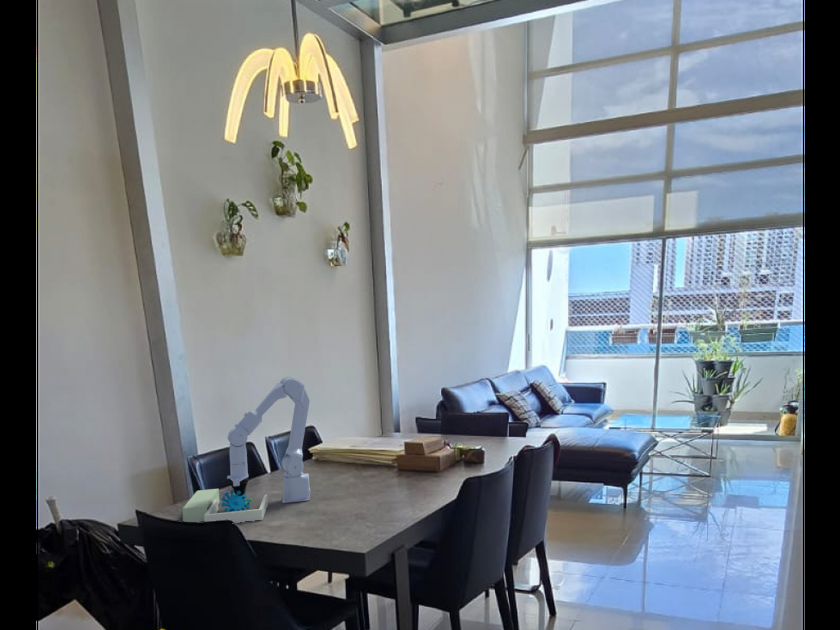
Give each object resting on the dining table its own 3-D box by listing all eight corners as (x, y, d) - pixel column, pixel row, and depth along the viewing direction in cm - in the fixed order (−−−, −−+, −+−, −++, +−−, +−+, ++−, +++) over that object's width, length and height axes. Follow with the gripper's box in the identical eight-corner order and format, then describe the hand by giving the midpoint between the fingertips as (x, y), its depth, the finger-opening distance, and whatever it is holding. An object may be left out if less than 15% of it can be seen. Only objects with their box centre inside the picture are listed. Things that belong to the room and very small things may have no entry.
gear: (226, 515, 194) (219, 490, 200) (220, 526, 196) (212, 500, 202) (257, 511, 201) (249, 487, 207) (250, 521, 204) (242, 497, 210)
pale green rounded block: (220, 502, 216) (219, 488, 216) (208, 521, 194) (207, 506, 194) (198, 504, 215) (197, 490, 215) (183, 523, 193) (182, 508, 193)
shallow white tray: (268, 504, 210) (267, 494, 210) (262, 520, 192) (261, 509, 192) (215, 509, 207) (214, 499, 207) (204, 526, 189) (204, 515, 189)
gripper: (230, 459, 213) (232, 497, 213) (223, 468, 199) (225, 509, 199) (250, 457, 214) (252, 495, 214) (244, 466, 200) (246, 506, 200)
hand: (240, 501), depth 207 cm, fingers closed
